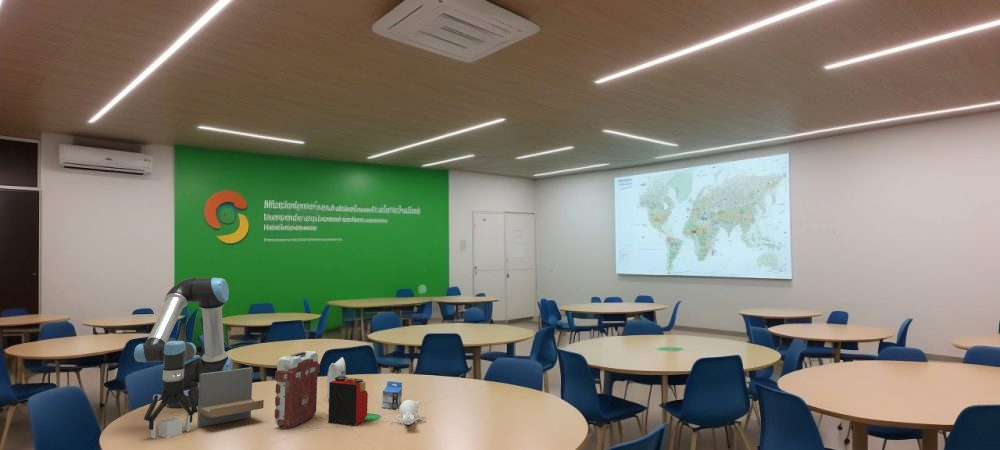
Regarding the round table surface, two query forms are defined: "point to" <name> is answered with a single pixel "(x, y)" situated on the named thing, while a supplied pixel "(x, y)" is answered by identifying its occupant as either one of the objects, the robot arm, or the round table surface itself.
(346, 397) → the radio
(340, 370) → the pouch
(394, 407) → the label tape cartridge
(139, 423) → the round table surface
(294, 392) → the first aid kit
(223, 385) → the board
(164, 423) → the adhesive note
